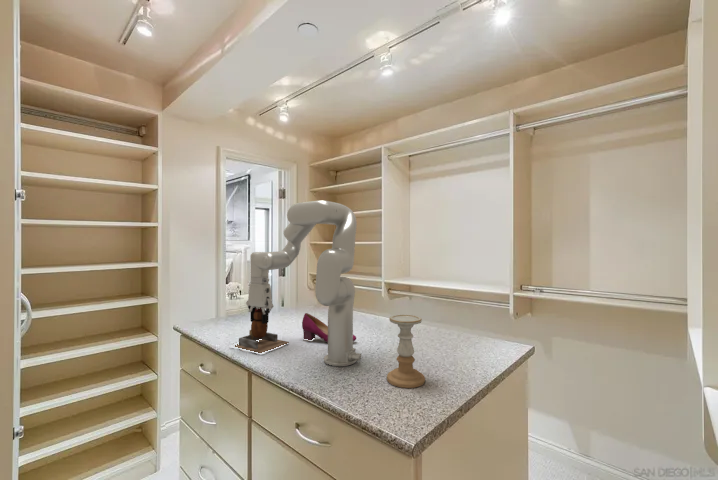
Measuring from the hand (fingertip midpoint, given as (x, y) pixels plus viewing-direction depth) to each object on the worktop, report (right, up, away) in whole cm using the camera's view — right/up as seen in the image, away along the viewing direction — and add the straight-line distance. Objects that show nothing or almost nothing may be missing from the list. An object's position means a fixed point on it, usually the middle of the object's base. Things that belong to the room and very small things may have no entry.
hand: (259, 321), depth 140 cm
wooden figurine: (0, -7, 0) cm, 7 cm away
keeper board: (0, -11, 0) cm, 11 cm away
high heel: (+29, -11, +6) cm, 32 cm away
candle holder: (+58, -10, -35) cm, 69 cm away
